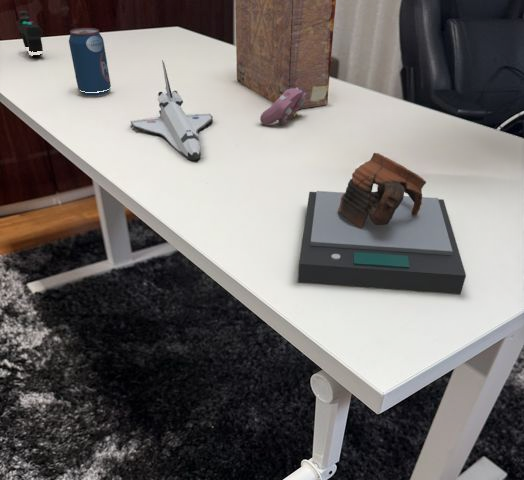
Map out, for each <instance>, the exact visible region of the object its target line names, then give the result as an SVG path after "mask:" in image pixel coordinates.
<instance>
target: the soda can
mask: <svg viewBox="0 0 524 480" xmlns="http://www.w3.org/2000/svg"><path fill="white" fill-rule="evenodd" d="M69 33H70V34H69V39H68V45H69V50H70V55H71V60H72V64H73V65H72V66H73V70H74V75H75V80H76V86H77V89H78V91H79V90H81V91H85V92H97V91H103V90H107V89H109V88H110V87H111V88H112V84H111V78H110V73H109V65H108V60H107V54H106V48H105V42H104V38H103V36H102V34H101V33H100V30H99V29H98V28H93V27H81V28H80V27H79V28H73V29H71V30H70V31H69ZM111 88H110V89H109V90H107V91H104V92H99V93H85V92H81V91H79V92H80V94H81V95H82V96H83V97H87V98H99V97H100V98H101V97H104V96H107V95H109V93H110V91H111Z"/></svg>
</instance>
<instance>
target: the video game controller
mask: <svg viewBox="0 0 524 480" xmlns="http://www.w3.org/2000/svg"><path fill="white" fill-rule="evenodd" d="M306 98H307V94H306V93H305V92H304V91H303V90H299V89H298V88H291V89H287V90H286V91H285V92H284V93H283V95H281V96H280V97H279V98H278V99H277V100H276V101H275V102H273V104H271V106H269V107H268V108H267V109H265V110H264V111H263V112H261V114H260V118H259V120H260V123H261V125H264V126H269V125H273V124H274V123H276V122H279V123H281V124H284V123H285V122H286V121H288V119H289V120H291V119H293V118H294V117H295V116H296V115H297V112H298V111H299V110H300V109H299V108H300V107H301V106H302V105H303V104H304V102H305V100H306Z"/></svg>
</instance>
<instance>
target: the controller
mask: <svg viewBox="0 0 524 480" xmlns="http://www.w3.org/2000/svg"><path fill="white" fill-rule="evenodd" d="M18 13H19V14H20V15H21V16H20V17H19V19H18V20H16V24H17V27H18V30H19V33H20V35H21V38H22V42H23V45H24V48H25V47H29V51H31V52H32V51H33V52H37V51H43V52H44V49H43V48H44V47H43V42H42V36H43V34H44V33H43V29H42V28H41V27H40V25H38V24H37V22H36V21H35V20H33V19H32V18H31V17H29V16H28V15H27V14H28V11H27V10H20V11H19V12H18ZM33 56H40V57H41V56H43V54H40V55H33Z"/></svg>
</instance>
